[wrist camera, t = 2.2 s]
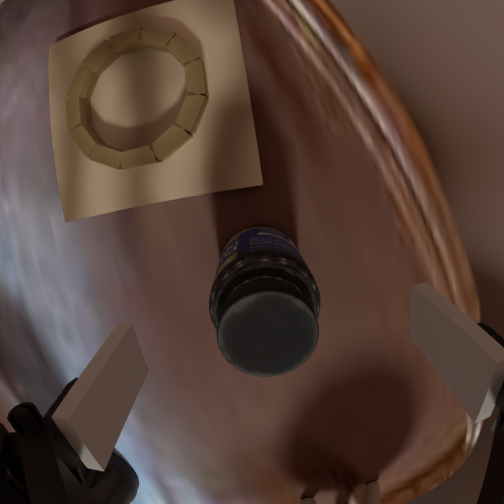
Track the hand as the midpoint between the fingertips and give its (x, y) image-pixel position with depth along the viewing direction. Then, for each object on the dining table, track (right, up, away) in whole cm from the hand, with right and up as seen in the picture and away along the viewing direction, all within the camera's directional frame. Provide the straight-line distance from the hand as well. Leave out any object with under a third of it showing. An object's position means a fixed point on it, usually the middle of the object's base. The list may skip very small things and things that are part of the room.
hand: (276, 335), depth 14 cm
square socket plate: (-9, +15, +7) cm, 19 cm away
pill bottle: (0, +3, +11) cm, 11 cm away
